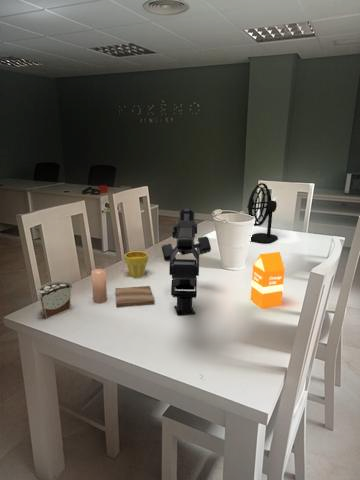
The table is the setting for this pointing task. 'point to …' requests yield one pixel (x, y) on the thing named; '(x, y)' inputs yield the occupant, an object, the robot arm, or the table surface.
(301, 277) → the table surface
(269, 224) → the desk fan
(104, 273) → the pillar candle
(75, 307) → the table surface
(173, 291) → the robot arm
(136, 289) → the walnut board
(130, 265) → the plant pot
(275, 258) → the orange juice
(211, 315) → the table surface
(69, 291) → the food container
